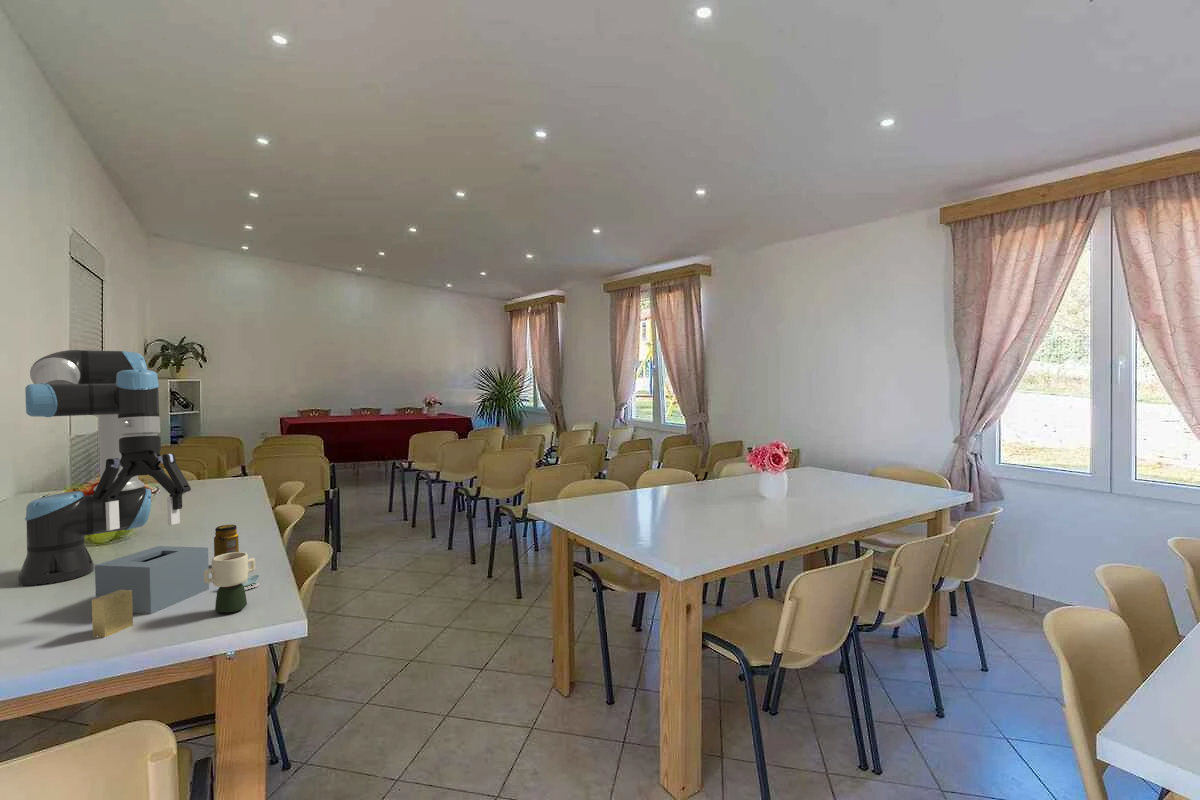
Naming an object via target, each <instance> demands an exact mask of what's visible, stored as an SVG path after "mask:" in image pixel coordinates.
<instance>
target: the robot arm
mask: <svg viewBox="0 0 1200 800" xmlns="http://www.w3.org/2000/svg"><path fill="white" fill-rule="evenodd" d="M30 367H31V368H30V370H29V377H30V381H32V383H30V384H29V383H28V384H26V386H25V389H24V390H25V413H26V415H27V416H29V417H40V418H41V417H45V418H52V417H70V416H71V417H75V416H98V433H99V435H98V437H99V439H98V441H99V473H100V474H99V476H100V477H99V478H100V479H99V481H98V484H97V485H95V486H94V487H93V494H88V495H85V493H84V492H83V491H81V490H74V491H68V492H62V493H56V494H50V495H46V496H42V497H39V498H36V499H33V500H31V501H30V502H29V503H28V504H27V506H26V508H25V511H26V512H25V513H26V514H25V518H24V520H25V521H26V556H25V558H24V561H23V563H22V566H21V569H20V572H19V574H18V584H19V583H20V584H19V585H21V584H23V585H22V586H38V585H37V584H43V585H47V584H46V583H50V584H54V582H56V583H60V582H59V581H61V582H65V581H64V580H66V581H69V580H68V579H70V580H73V579H72V578H74V579H76V578H75V577H78V578H80V577H79V576H81V577H83V575H84V576H86V575H85V574H87V575H88V573H89V574H91V573H93V572H94V571H95V563H94V560H92V557H91V554H90V553H89V551H88V548H87V547H86V541H85V539H86V538H85V537H86V536H90V535H98V534H105V533H106V534H107V533H111V532H112V533H113V532H119V531H128V530H131V529H137V528H141V527H143V526H145V525H146V524H147V522H148V521H149V517H150V514H151V508H152V490H151V489H149V488H146V486H145V483H144V482H143V481H141V480H140V479H139V477H140V476H150V477H152V478H153V479H154V480H155V481H157V483H158V484H159V485H160V486H161V487H162V488H163V489H164V490H165V491H166V492H167V493H168V494H169V495H168V496H167V497H166V502H167V508H166V509H167V524H168V525H167V526H172V525H176V524H180V523H181V518H180V517H181V515H180V512H181V511H180V510H181V509H182V508H183V495H184V494H186V493H187V492H190V491H191V490H192V488H191V486H190V484H189V482H188V481H187V479H186V477H185V476H184V474H183V472H182V470H181V469H180V467H179V466H178V464H177V460H176V455H175V454H174V453H164V454H163V455H162V454H161V453H160V452H161V450H162V443H161V442H162V440H161V436H160V435H158V434H160V433H161V417H160V405H159V403H160V401H159V400H160V399H159V398H160V397H159V387H160V383H159V378H158V373H157V372H156V371H154V370H149V369H148V366H147V363H146V361H145V358H144V356H143V355H142V354H141V353H139V352H134V351H124V350H91V349H90V350H84V349H83V350H82V349H69V350H61V351H57V352H56V351H55V352H54V353H49V354H47V355H46V356H42V357H41V358H39V359H38V360H36V361H35V362H34V363H33V364H32V366H30ZM160 464H163V467H164V468H163V467H162V466H161V465H160ZM164 469H165V470H166V472H165V470H164ZM167 474H168V475H167ZM182 510H183V509H182ZM90 572H91V573H90Z"/></svg>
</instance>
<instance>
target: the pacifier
mask: <svg viewBox="0 0 1200 800" xmlns="http://www.w3.org/2000/svg"><path fill="white" fill-rule="evenodd" d="M249 568H250V567H249V566H248V569H249ZM259 577H260V576H259V575H258V574H254V575H253V576H250V577H248V579H247V581H245V582H243V583H242V584H243V586H244V587H247V588H244V589H245V590H246V591H249V590H248V589H250V590H252V589H251V588H253V589H255V588H257V587H259V586H260V582H257V581H258V580H259ZM252 584H255V585H252ZM250 585H252V586H251V587H248V586H250ZM254 587H255V588H254Z"/></svg>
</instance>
